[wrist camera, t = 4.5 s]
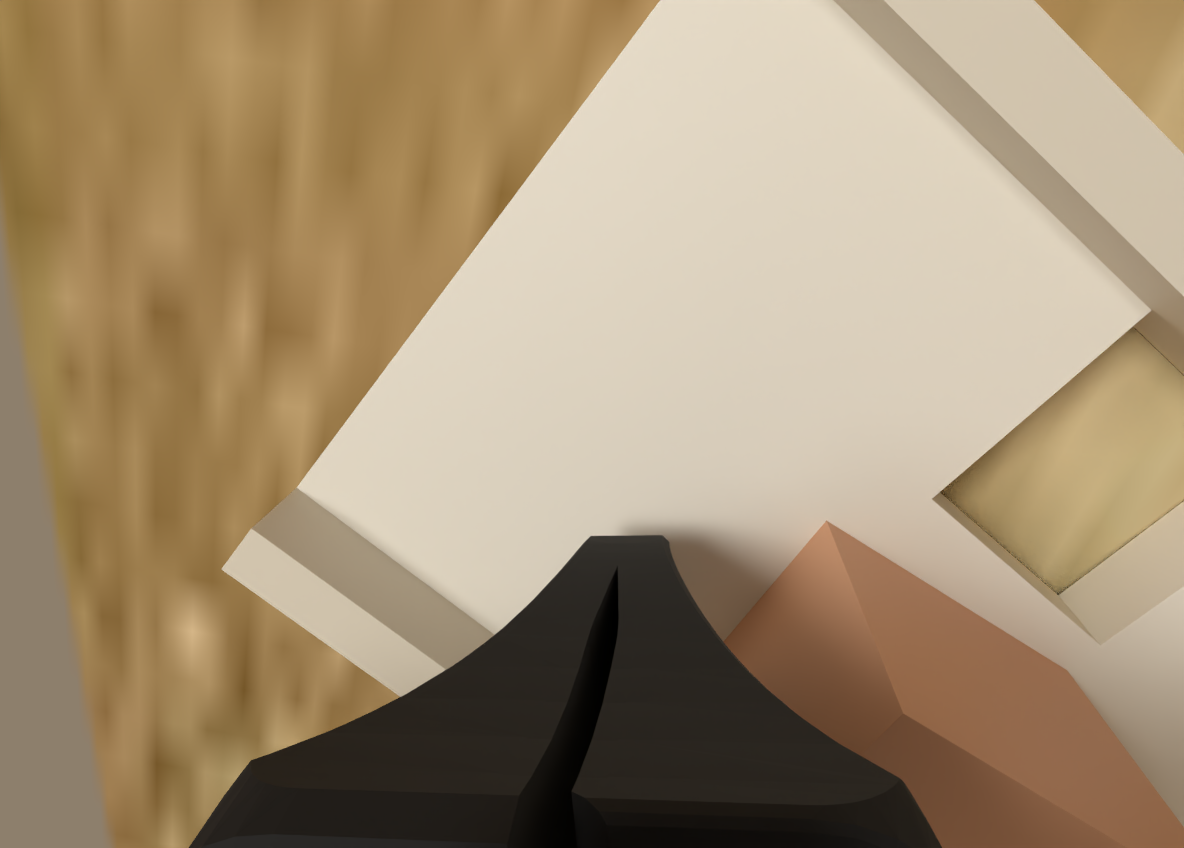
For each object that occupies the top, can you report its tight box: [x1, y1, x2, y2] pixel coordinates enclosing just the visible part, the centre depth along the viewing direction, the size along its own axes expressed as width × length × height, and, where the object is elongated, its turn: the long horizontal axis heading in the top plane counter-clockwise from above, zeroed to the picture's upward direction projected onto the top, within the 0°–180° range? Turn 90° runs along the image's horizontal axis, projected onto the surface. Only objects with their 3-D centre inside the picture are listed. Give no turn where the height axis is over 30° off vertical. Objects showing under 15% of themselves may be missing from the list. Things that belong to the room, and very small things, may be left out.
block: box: [723, 520, 1184, 848], centre depth 11 cm, size 5×5×4 cm
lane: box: [222, 0, 1184, 827], centre depth 13 cm, size 26×13×4 cm, turn 50°
